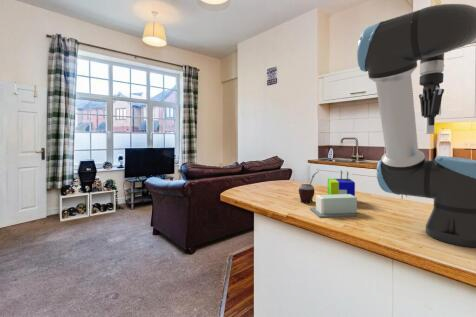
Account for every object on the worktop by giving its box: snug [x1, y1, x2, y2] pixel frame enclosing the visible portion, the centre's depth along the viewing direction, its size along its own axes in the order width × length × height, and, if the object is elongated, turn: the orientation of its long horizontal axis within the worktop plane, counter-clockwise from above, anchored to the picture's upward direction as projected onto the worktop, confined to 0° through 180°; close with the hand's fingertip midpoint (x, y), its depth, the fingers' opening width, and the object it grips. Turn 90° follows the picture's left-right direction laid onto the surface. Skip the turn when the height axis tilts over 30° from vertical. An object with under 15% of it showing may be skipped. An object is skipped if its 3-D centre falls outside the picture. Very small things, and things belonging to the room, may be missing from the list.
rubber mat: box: [309, 207, 357, 219], centre depth 101 cm, size 14×11×1 cm
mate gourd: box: [298, 170, 320, 204], centre depth 118 cm, size 8×8×15 cm
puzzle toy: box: [327, 178, 356, 197], centre depth 117 cm, size 10×10×10 cm
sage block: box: [315, 194, 358, 214], centre depth 101 cm, size 6×6×14 cm
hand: (429, 133), depth 102 cm, fingers closed
